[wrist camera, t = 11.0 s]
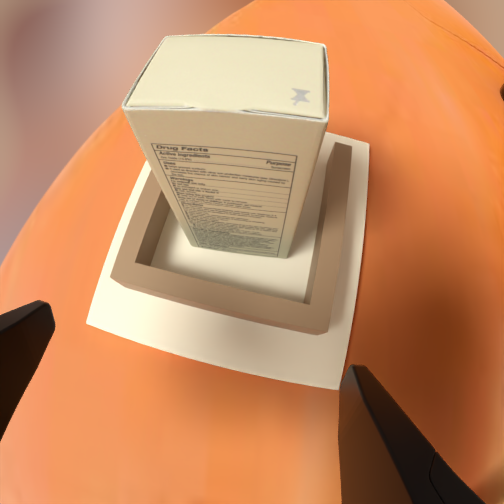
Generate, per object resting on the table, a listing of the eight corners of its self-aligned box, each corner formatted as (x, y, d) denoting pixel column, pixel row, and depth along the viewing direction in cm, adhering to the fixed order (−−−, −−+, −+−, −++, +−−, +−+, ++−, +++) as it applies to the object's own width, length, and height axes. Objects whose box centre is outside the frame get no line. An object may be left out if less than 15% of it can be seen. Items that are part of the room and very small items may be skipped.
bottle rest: (335, 389, 17) (352, 394, 14) (90, 324, 18) (66, 317, 15) (367, 148, 23) (379, 123, 20) (175, 110, 24) (169, 83, 21)
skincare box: (294, 199, 21) (337, 43, 9) (287, 262, 19) (342, 125, 8) (198, 186, 21) (163, 30, 9) (184, 247, 19) (115, 105, 8)
